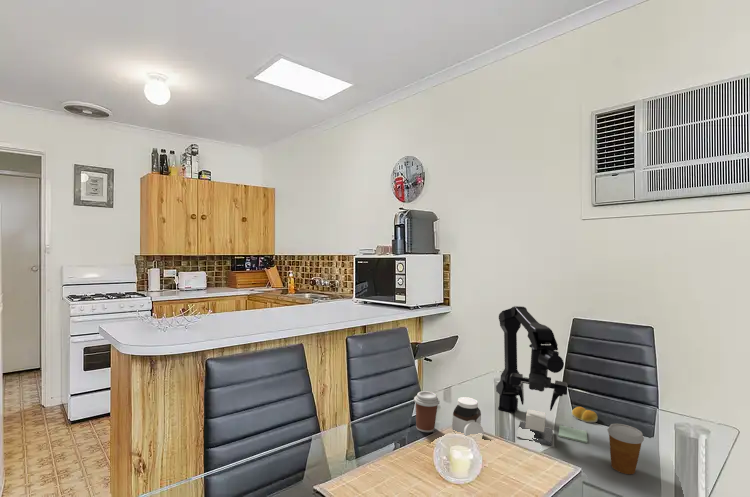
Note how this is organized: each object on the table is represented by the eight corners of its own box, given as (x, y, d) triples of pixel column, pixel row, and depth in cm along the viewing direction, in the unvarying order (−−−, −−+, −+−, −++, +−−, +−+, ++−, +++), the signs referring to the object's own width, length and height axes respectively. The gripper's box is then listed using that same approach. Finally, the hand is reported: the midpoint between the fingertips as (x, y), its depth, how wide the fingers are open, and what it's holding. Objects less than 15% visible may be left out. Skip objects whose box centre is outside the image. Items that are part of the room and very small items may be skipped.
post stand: (516, 437, 143) (517, 418, 143) (520, 425, 153) (521, 407, 153) (550, 445, 139) (552, 426, 139) (552, 432, 149) (553, 414, 148)
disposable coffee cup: (598, 460, 131) (601, 422, 131) (627, 460, 132) (629, 423, 131) (618, 477, 121) (621, 437, 121) (649, 477, 122) (652, 437, 122)
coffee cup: (407, 427, 147) (409, 393, 146) (422, 420, 153) (424, 388, 153) (428, 436, 140) (430, 401, 140) (443, 428, 147) (445, 395, 147)
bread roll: (592, 425, 157) (593, 415, 157) (568, 417, 164) (569, 407, 164) (601, 420, 163) (601, 410, 163) (577, 412, 169) (578, 402, 169)
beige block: (525, 427, 145) (526, 415, 144) (527, 421, 150) (528, 409, 150) (543, 432, 142) (544, 419, 142) (545, 425, 147) (545, 413, 147)
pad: (558, 436, 146) (558, 434, 146) (559, 426, 154) (559, 425, 154) (587, 443, 142) (587, 441, 142) (586, 432, 150) (586, 431, 150)
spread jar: (464, 426, 150) (466, 394, 150) (492, 437, 142) (494, 404, 142) (444, 435, 142) (446, 402, 142) (473, 449, 134) (475, 413, 134)
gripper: (508, 364, 142) (505, 409, 143) (568, 374, 134) (565, 422, 135) (512, 356, 152) (510, 398, 153) (568, 366, 144) (565, 410, 145)
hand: (536, 407), depth 146 cm, fingers open, 9 cm apart
